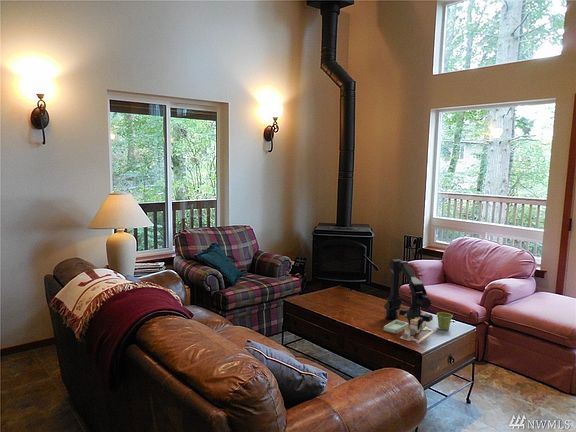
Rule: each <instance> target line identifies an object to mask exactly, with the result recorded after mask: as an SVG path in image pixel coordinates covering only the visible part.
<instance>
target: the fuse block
mask: <svg viewBox="0 0 576 432" xmlns="http://www.w3.org/2000/svg"><path fill="white" fill-rule="evenodd" d="M426 323H427V322H426V321H423V323H422V325H421V327H420V331H419V332H418V333H420V332H421V331H422V332H423V331H424V332H425V331H429V332H428V333H426V334H425V335H424V336H422V337H421V338H419V339H418V338H417V339H416V338H415V337H414V336H416V333H415V330H414V329H410V327H409V326H408V327H405V328H404V333H402V335H400V337H399V339H401V340H405V341H408V342H410V341H414V342H415V343H416V344H417V345H419V344H420V343H422V342H423V341H425V339H428V338H429V337H430V336H431V335H433V334H435V333H436V332H437V328H434V329H431V328H429V326H426Z"/></svg>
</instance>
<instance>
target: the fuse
mask: <svg viewBox="0 0 576 432" xmlns="http://www.w3.org/2000/svg"><path fill="white" fill-rule="evenodd" d="M418 320H419V319H418V318H415V319H411V320H410V324H409V328H410V329H414V330H415V334H418V333H420V332H421V330H420V329H419V330H418ZM419 331H420V332H419Z"/></svg>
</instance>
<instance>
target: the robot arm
mask: <svg viewBox="0 0 576 432" xmlns="http://www.w3.org/2000/svg"><path fill="white" fill-rule="evenodd" d="M388 265H389V271H390V272H391V276H390V277H391V279H390V294H389V296H388V297H387V301H386V302H385V303H384V306H383V307H384V310H386V313H385V317H384V318H385V319H387V320H391V321H394V320H399V316H402V317H403V316H404V318H406V319H407V320H408V321H407V322H408V323H409V325H410V320H411V319H418V318H419V319H418V330H419V329H420V327H421V325H422V323H423V321H425V323H430V322H431V321H433V318H434V316H433V315H432V314H430V313H429V314H428V313H425V314H422V313H423V312H422V308H423V309H424V310H425V309H427V310H428V309H430V307H432V302H431V300H430V299H429V296H427V295H428V294H427V290H426V288H425V285H424V283H423V282H422V281H421V280H420V279H419V278H417V276H416V275H415V273H414V272H413V269H412V268H411V267H410V265H409V262H408V261H406V260H402V259H399V258H397V259H390V260H389V262H388ZM401 272H402V273H403V274H404V276H405V278H406V279H407V282H408V287H409V289H410V292H409V294H410V296H411V300H410V305H409V308H408V309H407V308H402V309H400V308H401V305H402V299H401V298H400V296H399V289H400V287H399V286H400V274H401ZM398 310H399V311H398Z"/></svg>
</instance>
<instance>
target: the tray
mask: <svg viewBox="0 0 576 432" xmlns="http://www.w3.org/2000/svg"><path fill="white" fill-rule="evenodd" d="M405 327H408V328H409V327H410V324H409V322H408V321H403V320H399V319H396V320H391V322H389V323H387V324H385V325H384V326H383V327H382V330H383V331H385V332H387V333H390V334H391V333H392V334H394V335H398V334H399V333H401V332H402V331H405V329H404V328H405Z"/></svg>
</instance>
